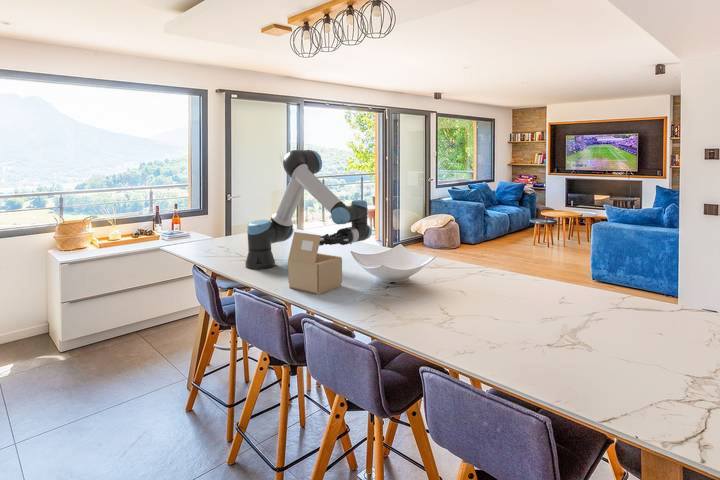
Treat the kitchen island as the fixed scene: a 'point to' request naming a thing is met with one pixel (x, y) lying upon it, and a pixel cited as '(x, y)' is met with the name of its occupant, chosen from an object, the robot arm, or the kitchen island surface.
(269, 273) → the kitchen island surface
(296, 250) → the front flap
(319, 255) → the carton
